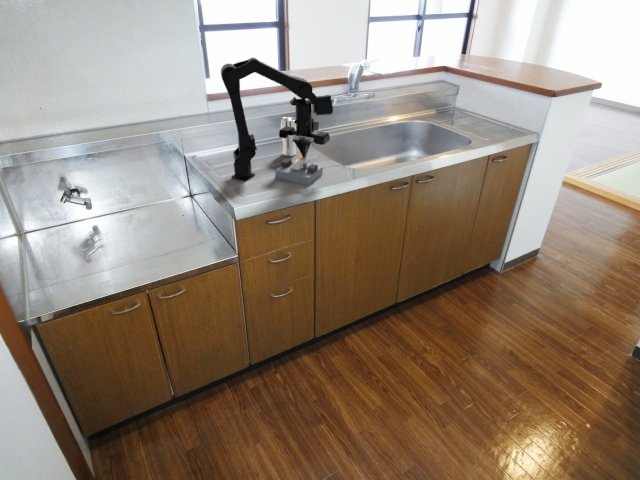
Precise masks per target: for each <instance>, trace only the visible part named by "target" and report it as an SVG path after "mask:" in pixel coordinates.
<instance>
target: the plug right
mask: <svg viewBox="0 0 640 480" xmlns="http://www.w3.org/2000/svg"><path fill="white" fill-rule="evenodd" d="M310 164H311V165H310V166H309V167H307V173H312V174H313V173H315V172H316V171H317V170H318V166H319V164H314V163H310Z"/></svg>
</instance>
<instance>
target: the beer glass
mask: <svg viewBox="0 0 640 480" xmlns="http://www.w3.org/2000/svg"><path fill="white" fill-rule="evenodd" d="M294 120H296V116H295V117H294V116H284V117H283V116H282V117H281V118H280V130H281V129H282V128H284V127H286V126H289V127H294V128H295V131H296V123H294ZM281 139H282V140H281V141H282V153H281V154H282V155H283V156H286V157H293V156H296V155H297V145H296V144H295V142H293V141H292V140H293V136H291V135H288V137H287V138H281Z"/></svg>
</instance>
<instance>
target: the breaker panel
mask: <svg viewBox="0 0 640 480" xmlns="http://www.w3.org/2000/svg"><path fill="white" fill-rule="evenodd" d="M291 160H292V159H291ZM295 161H296V160H292V164H293V163H294V162H295ZM311 164H312V163H307V162H306V163H305V164H303V166H302V167H301V168H300V169H299V170H296V169H291V168H290V166H291V165H290V166H289V167H287V168H284V167H281V166H279V167H278V168H277V169H275V170H274V174H275V175H274V177H275V178H276V179H279V180H284V181H287V182H292V183H297V184H300V185H306V186H309V185H311V184H312V183H313V182H314V181H315V180H317V179H318V178H320V176H322V175H323V171H324V170H323V168H324V166H321V165H318V170H317V171H316V172H315V173H313V174H312V173H307V167H309V166H310V165H311Z"/></svg>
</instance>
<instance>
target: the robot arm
mask: <svg viewBox="0 0 640 480" xmlns="http://www.w3.org/2000/svg"><path fill="white" fill-rule="evenodd" d="M253 73H256V74H258V75H260V76H261V77H265V78H266V79H268V80H271V81H272V82H274V83H276V84H279V85H281V86H283V87H285V88H286V89H287V90H289V91H290V92H291V93H293V94H294V95H296V96H297V97H299V98H296V97H295V96H293V97H292V99H291V100H290V101H289V104H290V105H291V106H295V118H296V120H294V123H296V131H295V128H294V127H289V126H286V127H284V128H282V129H281V128H280V130H279V131H278V137H279V139H280V138H281V139H282V138H287V137H288V135H291V136H293V140H292V141H293V142H295V144H296V148H298V150H299V152H300V154H301V156H302V157H307V155H308V151H309V149H310V146H311V144H313V143H314V144H315V145H320V146H323V145H325V144H327V143H329V141H331V140H330V139H331V136H330V134H329V132H324V131H319V126H320V122H319V121H314V117H313V116H312V115H313V114H315V116H330V115H333V113H334V107H333V101H332V96H331V94H326V95H316V94H315V93H314V92H313V86H312V85H311V84H310V82H309V81H308V80H306V79H305V78H302V77H298V76H295V75H289V74H287V73H284V72H283V71H281V70H278V69H276V68H275V67H272V66H271V65H269V64H266V63H264V62H262V61H261V60H259V59H257V58H256V57H251V58H248V59H246V60H243V61H238V62H236V63H233V64H232V63H226V64H224V65H223V66H222V67H221V69H220V75H221V79H222V82H223V85H224V87H225V89H226V92H227V94H228V96H229V100H230V104H231V108H232V112H233V117H234V122H235V124H236V131H237V141H238V142H237V145H238V147H236V149H235V150H233V152H232V153H233V159H234V162H233V169H234V170H233V171H234V174H233V175H232V176H231V179H237V180H240V181H244V182H246V181H248V180H249V179H251V178H253V177H255V176H256V174H255V173H253V171H252V170H253V169H252V161H251V160H252V159H254V158H255V156H256V151H258V147H257V145H256V138H255V135H254V133H252V134H250V133H249V130H248V125H247V121H246V116H245V112H244V107H243V102H242V97H241V81H240V80H242V79H244V78H246V77H248V76H250V75H252V74H253ZM312 113H313V114H312ZM315 131H319V132H317V133H314V132H315Z"/></svg>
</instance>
